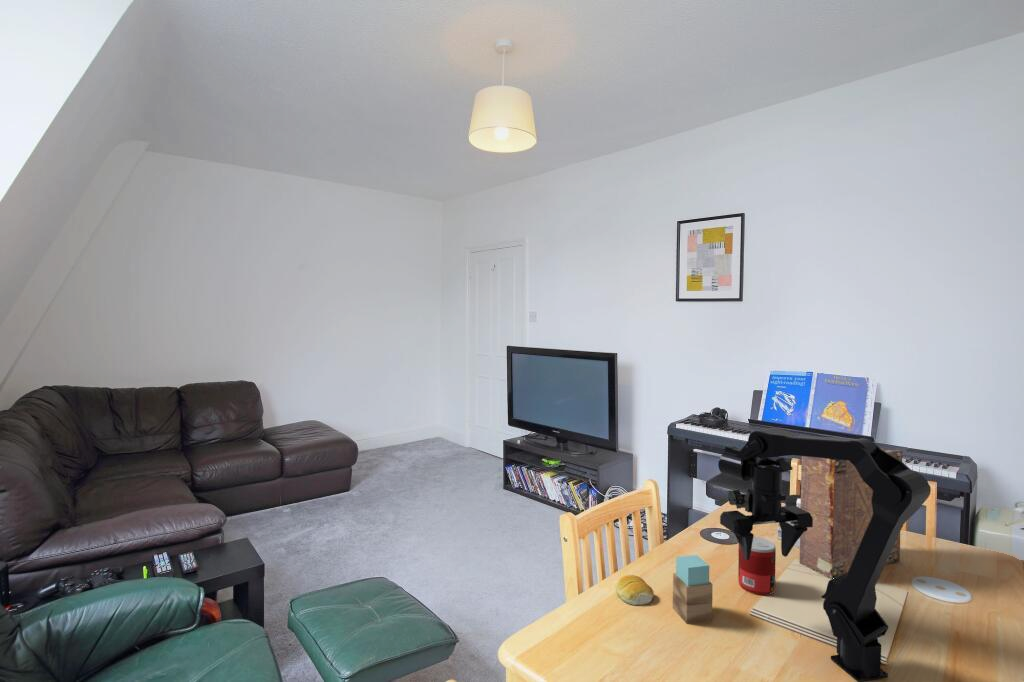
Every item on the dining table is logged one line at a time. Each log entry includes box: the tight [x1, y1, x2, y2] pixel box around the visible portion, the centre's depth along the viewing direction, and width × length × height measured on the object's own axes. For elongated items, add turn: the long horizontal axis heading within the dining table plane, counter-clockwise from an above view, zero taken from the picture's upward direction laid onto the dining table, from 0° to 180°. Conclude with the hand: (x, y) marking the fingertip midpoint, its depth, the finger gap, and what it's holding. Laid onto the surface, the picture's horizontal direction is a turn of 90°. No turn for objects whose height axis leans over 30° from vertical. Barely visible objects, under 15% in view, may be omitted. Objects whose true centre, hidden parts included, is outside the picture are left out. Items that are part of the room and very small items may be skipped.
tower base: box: [672, 590, 713, 625], centre depth 112 cm, size 6×6×4 cm
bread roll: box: [615, 574, 655, 606], centre depth 120 cm, size 8×9×4 cm
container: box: [776, 494, 801, 549], centre depth 148 cm, size 8×8×13 cm
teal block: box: [675, 554, 710, 586], centre depth 112 cm, size 5×5×4 cm
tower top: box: [672, 572, 714, 605], centre depth 112 cm, size 6×6×4 cm
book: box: [799, 447, 903, 580], centre depth 134 cm, size 25×9×30 cm, turn 111°
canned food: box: [737, 535, 777, 596], centre depth 123 cm, size 8×8×11 cm
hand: (765, 557), depth 111 cm, fingers open, 9 cm apart
